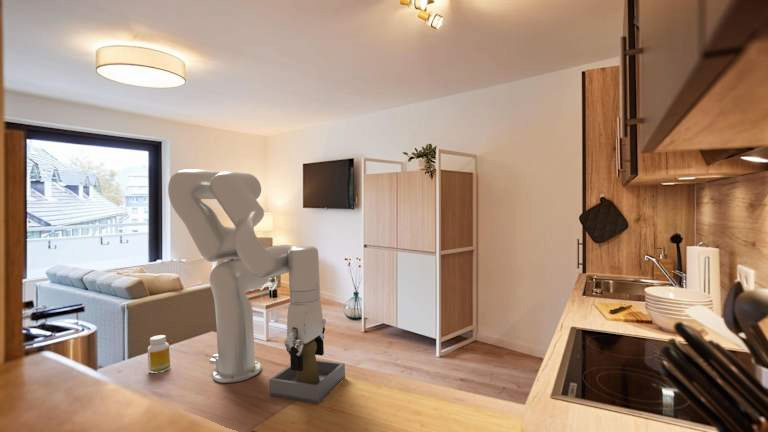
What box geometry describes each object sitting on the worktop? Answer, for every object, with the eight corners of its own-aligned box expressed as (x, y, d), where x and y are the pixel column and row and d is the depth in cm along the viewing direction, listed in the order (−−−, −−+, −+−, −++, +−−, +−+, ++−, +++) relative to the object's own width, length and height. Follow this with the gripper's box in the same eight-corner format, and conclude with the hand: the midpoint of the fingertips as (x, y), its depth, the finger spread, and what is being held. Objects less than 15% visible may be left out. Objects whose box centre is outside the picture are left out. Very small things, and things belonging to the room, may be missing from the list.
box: (270, 395, 92) (269, 379, 92) (301, 371, 105) (300, 357, 105) (318, 404, 88) (317, 387, 87) (345, 378, 100) (344, 363, 100)
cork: (314, 389, 93) (312, 345, 93) (291, 388, 94) (289, 344, 94) (323, 378, 99) (321, 336, 98) (302, 377, 100) (300, 336, 100)
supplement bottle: (174, 368, 111) (172, 335, 110) (154, 375, 106) (152, 341, 106) (164, 364, 114) (162, 332, 113) (145, 371, 109) (143, 338, 109)
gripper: (310, 287, 105) (313, 348, 106) (271, 303, 89) (274, 375, 89) (334, 288, 102) (337, 350, 103) (298, 305, 86) (301, 379, 87)
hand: (308, 362), depth 96 cm, fingers open, 9 cm apart
